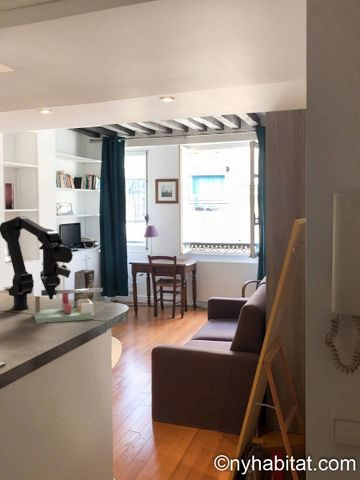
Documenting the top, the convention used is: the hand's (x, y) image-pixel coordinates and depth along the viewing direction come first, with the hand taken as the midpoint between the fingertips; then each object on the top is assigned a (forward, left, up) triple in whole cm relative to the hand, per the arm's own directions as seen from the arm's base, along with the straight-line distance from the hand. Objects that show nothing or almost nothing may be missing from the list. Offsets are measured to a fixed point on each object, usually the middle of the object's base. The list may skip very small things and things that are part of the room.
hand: (49, 297), depth 189 cm
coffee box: (-13, +17, -8) cm, 22 cm away
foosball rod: (+4, +10, -5) cm, 12 cm away
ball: (+5, +13, -6) cm, 15 cm away
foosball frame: (+5, +5, -8) cm, 11 cm away
